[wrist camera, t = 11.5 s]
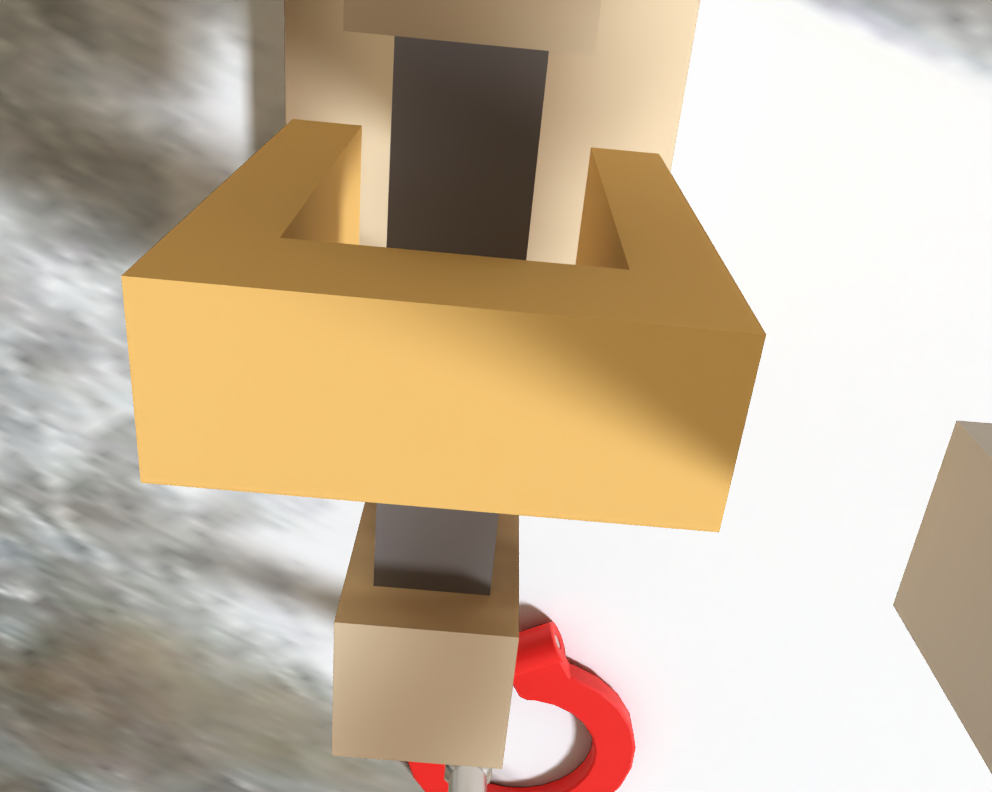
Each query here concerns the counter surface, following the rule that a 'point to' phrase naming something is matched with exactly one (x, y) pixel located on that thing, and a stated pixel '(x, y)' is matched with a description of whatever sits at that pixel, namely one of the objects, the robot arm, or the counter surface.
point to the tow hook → (572, 690)
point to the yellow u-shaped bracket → (441, 351)
